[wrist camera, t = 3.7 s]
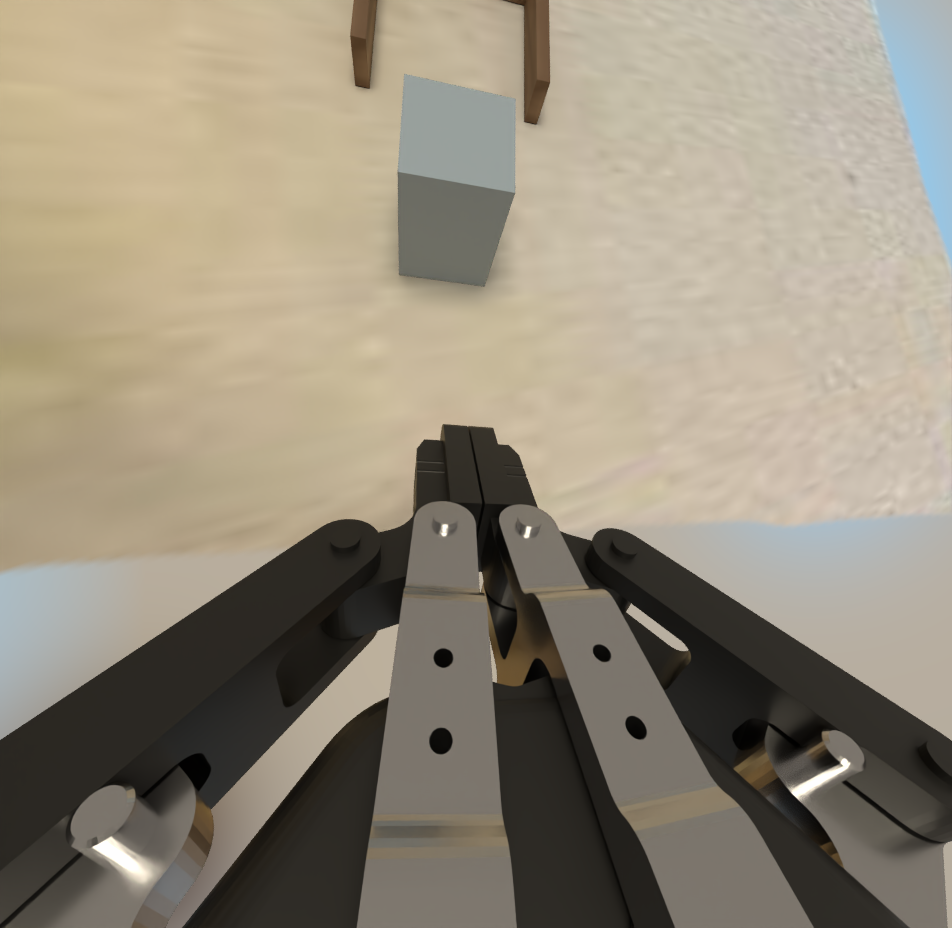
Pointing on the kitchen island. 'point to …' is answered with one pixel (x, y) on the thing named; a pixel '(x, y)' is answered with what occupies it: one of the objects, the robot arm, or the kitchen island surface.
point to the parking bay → (533, 50)
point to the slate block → (453, 179)
